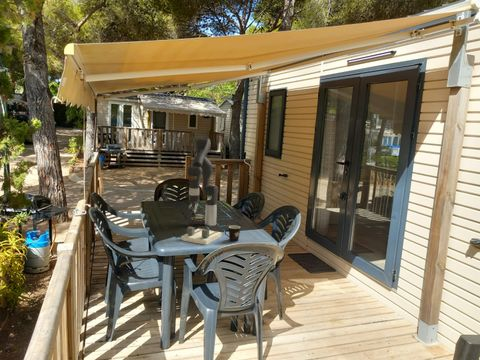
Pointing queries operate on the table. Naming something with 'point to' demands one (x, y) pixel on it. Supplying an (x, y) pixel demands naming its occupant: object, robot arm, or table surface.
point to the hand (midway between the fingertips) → (193, 217)
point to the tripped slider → (190, 230)
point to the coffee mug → (233, 233)
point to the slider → (205, 233)
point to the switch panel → (199, 239)
